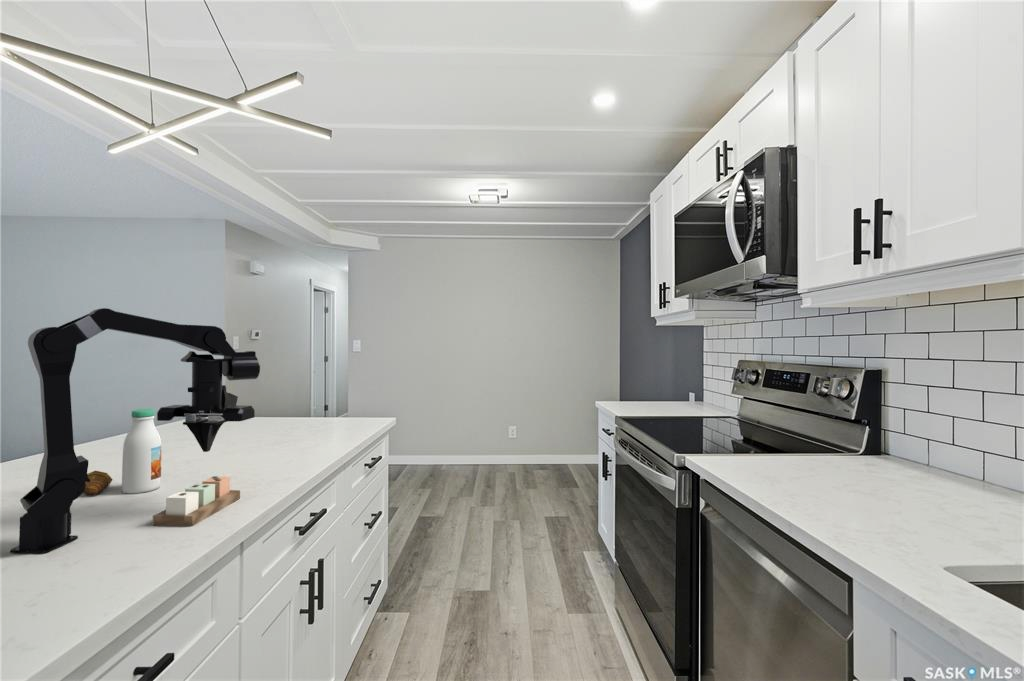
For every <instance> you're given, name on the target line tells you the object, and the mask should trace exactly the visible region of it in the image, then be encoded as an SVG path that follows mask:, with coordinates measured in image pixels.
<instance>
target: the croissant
mask: <svg viewBox="0 0 1024 681" xmlns="http://www.w3.org/2000/svg"><path fill="white" fill-rule="evenodd" d="M87 475H88V478H89V479H90V482H85V483H86V486H85V490H84V492H83V493H82V494H85V495H86V496H90V497H92V496H96V495H98V494H101V493H103V492H104V491H105V490H106V489H107V488H108V487H109V486H110V484H111V483H112V481H113V479H114V478H112V477H111V476H110V474H109V473H108V472H104V471H99V470H93V471H91V472H87Z"/></svg>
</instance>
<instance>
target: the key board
mask: <svg viewBox="0 0 1024 681" xmlns="http://www.w3.org/2000/svg"><path fill="white" fill-rule="evenodd" d="M239 500H241V490H237V489H234V490H232V489H230V492H229V493H227V494H225V495H223V496H221V497H215V500H214V501H212V502H210V503H208V504H206V505H204V506H198V509H197V510H195V511H193V512H191V513H189V514H187V515H166V509H164V510H162V511H159V512H158V513H155V514H154V515H152V526H156V527H157V526H160V527H163V526H165V527H193V526H195V525H197V524H199V523H200V522H202V521H204V520H205V519H207V518H209V517H211V516H213V515H214V514H216V513H218V512H220V511H221V510H223V509H225V508H226V507H228V506H229V505H233V503H235V502H237V501H239Z"/></svg>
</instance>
